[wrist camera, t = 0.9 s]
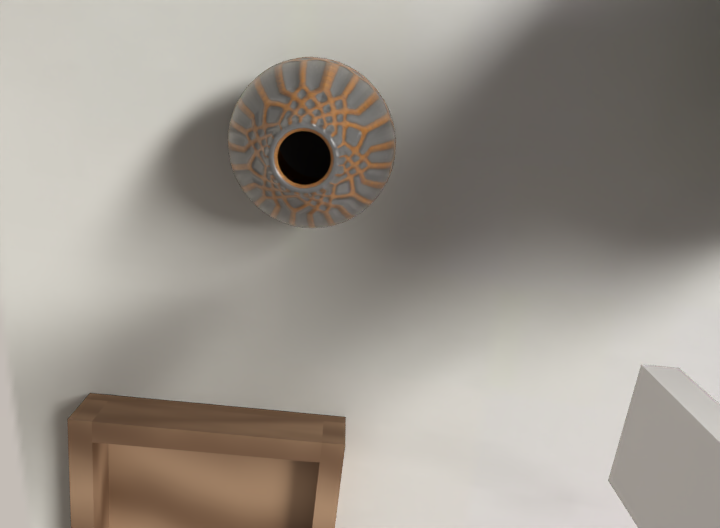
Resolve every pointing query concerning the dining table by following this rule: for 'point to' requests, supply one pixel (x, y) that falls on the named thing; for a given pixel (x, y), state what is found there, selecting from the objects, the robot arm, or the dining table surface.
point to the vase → (311, 142)
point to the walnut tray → (201, 465)
